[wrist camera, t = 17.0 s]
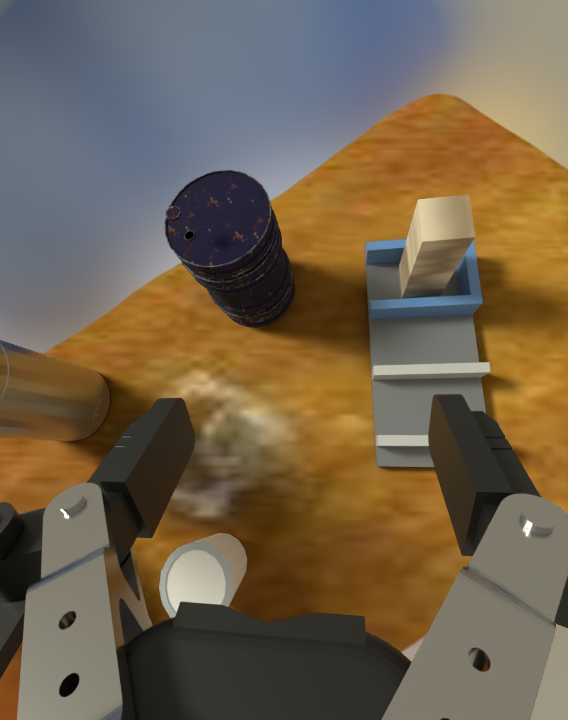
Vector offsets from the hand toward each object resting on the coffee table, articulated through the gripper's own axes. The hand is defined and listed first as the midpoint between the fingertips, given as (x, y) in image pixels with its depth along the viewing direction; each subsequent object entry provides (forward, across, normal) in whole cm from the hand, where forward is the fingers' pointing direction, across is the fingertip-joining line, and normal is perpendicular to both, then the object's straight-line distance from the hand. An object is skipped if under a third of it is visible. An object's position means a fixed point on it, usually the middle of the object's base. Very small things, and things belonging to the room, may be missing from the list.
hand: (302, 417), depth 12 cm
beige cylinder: (+12, +12, +29) cm, 34 cm away
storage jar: (+34, +9, +7) cm, 36 cm away
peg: (+32, -10, +7) cm, 34 cm away
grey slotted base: (+28, -10, +13) cm, 32 cm away
